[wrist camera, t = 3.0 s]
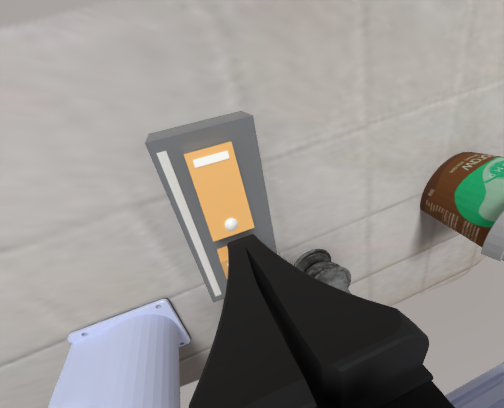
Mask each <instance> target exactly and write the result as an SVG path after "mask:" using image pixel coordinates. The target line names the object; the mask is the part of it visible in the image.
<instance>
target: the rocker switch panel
mask: <svg viewBox="0 0 504 408" xmlns="http://www.w3.org/2000/svg"><path fill="white" fill-rule="evenodd" d="M226 142H232V145H233V149H234V153H235V157H236V160H237V164H238V168H239V171H240V175H241V179H242V182H243V186H244V190H245V193H246V197H247V201H248V205H249V208H250V212H251V216H252V219H253V223H254V227H255V228H252V229H249V230H246V231H243V232H241V233H238V234H235V235H232V236H229V237H226V238H223V239H220V240H217V241H214V242H213V240H212V237H211V234H210V231H209V228H208V225H207V222H206V219H205V216H204V213H203V210H202V207H201V204H200V201H199V198H198V195H197V192H196V189H195V187H194V184H193V181H192V178H191V175H190V172H189V169H188V166H187V163H186V160H185V157H184V154H185V153H189V152H192V151H196V150H200V149H203V148H207V147H211V146H214V145H218V144H222V143H226ZM145 144H146V146H147V149H148V151H149V153H150V156H151V158H152V160H153V163H154V165H155V167H156V170H157V172H158V174H159V177H160V179H161V181H162V184H163V186H164V188H165V191H166V193H167V195H168V198H169V200H170V202H171V205H172V207H173V209H174V212H175V214H176V216H177V219H178V221H179V223H180V226H181V228H182V230H183V233H184V235H185V237H186V240H187V242H188V244H189V247H190V249H191V251H192V254H193V256H194V259H195V261H196V263H197V266H198V268H199V270H200V273H201V275H202V277H203V280H204V282H205V284H206V287H207V289H208V291H209V294H210V296H211V298H212V301H213V302H216V301H218V300H221V299H223V298H225V293H226V286H227V278H226V276H225V273H224V270H223V268H222V265H221V262H220V259H219V255H218V252H217V249H220V248H222V247H225V246H227V244H228V242H231V241H234V240H237V239H239V238H242V237H245V236H248V235H251V234H254V235H255V236H256V237H257V238H258V239H259V240H260V241H261V242H263V243H264V244H265V245H266V246H267V247H268V248H270V249H271V250H272V251H273V252H275V253H276V254H277V252H276V246H275V240H274V235H273V229H272V223H271V217H270V212H269V206H268V200H267V194H266V188H265V183H264V177H263V171H262V165H261V160H260V154H259V148H258V142H257V137H256V131H255V125H254V119H253V115H250V114H247V113H245V112H242V111H239V112H235V113H231V114H227V115H223V116H219V117H215V118H211V119H207V120H203V121H199V122H195V123H191V124H187V125H183V126H179V127H175V128H171V129H167V130H163V131H159V132H155V133H151V134H149V135H148V138H147V140H146V142H145Z"/></svg>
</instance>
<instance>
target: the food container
mask: <svg viewBox="0 0 504 408" xmlns="http://www.w3.org/2000/svg"><path fill="white" fill-rule="evenodd" d="M420 207H421V210H423V211H425V212H426V213H428V214H429V215H431V216H433V217H434V218H436V219H437V220H439V221H441V222H442V223H444V224H445V225H447V226H449V227H450V228H452V229H453V230H455V231H457V232H458V233H460V234H462V235H463V236H465V237H466V238H468V239H470V240H471V241H473V242H474V243H476V244H478V245H479V246H481V247H482V251H481V254H483V255H486V256H488V257H491V258H493V259H496V260H498V261H501V260H503V261H504V157H500V156H493V155H487V154H480V153H473V152H462V153H460V154H457V155H455V156H453V157H451V158H450V159H448V160H447V161H446V162H445V163H443V164H442V165H441V166H440V167H439V168H438V169H437V170H436V172H435V173H434V174H433V176H432V177H431V178H430V180H429V182H428V183H427V185H426V187H425V189H424V192H423V194H422V198H421V204H420Z"/></svg>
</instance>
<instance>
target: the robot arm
mask: <svg viewBox="0 0 504 408" xmlns="http://www.w3.org/2000/svg"><path fill="white" fill-rule="evenodd" d="M227 248H228V278H227V286H226V293H225V299H224V304H223V309H222V313H221V317H220V321H219V325H218V329H217V332H216V336H215V339H214V342H213V345H212V348H211V351H210V354H209V356H208V359H207V362H206V365H205V368H204V370H203V373H202V375H201V378H200V380H199V383H198V385H197V387H196V390H195V392H194V394H193V397H192V399H191V402H190V404H189V408H504V362H503V363H501V364H500V365H498V366H496V367H494V368H493V369H491V370H489V371H487V372H486V373H484V374H482V375H480V376H479V377H477V378H475V379H473V380H471V381H470V382H468V383H466V384H465V385H463V386H461V387H459V388H457V389H456V390H454V391H452V392H451V393H449V394H447V395H445V396H444V395H443V393H442V392H441V391H440V390H439V389H438V388H437V387H436V386H435V384H434V383H433V382H432V381H431V380H433V376H432V374H431V373H430V372H429V371H428V370H427V369H426V368H425V366H424V365H423V361H424V359H425V356H426V353H427V351H428V347H429V340H428V337H427V336H426V334H424V333H423V332H422V331H421V330H420V329H419V328H418V327H417V326H416V325H415V324H414V323H413V322H412V321H411V320H410V319H409V318H407V317H406V316H405V315H403V314H402V313H401V312H400V311H399V310H398V309H396V308H392V307H389V306H386V305H382V304H379V303H376V302H372V301H369V300H366V299H363V298H360V297H357V296H355V295H352V294H349V293H347V292H345V291H342V290H340V289H338V288H335V287H333V286H330V285H328V284H326V283H324V282H322V281H320V280H318V279H316V278H314V277H312V276H310V275H308V274H307V273H305V272H303V271H301V270H300V269H298V268H296V267H295V266H293V265H292V264H290V263H289V262H287V261H286V260H284V259H283V258H281V257H280V256H279V255H277V254H276V253H275V252H273V251H272V250H271V249H270V248H268V247H267V246H266V245H265V244H264V243H263V242H261V241H260V240H259V239H258V238H257V237H256V236H255V235H254V234H251V235H248V236H245V237H242V238H239V239H237V240H234V241H231V242H228V244H227ZM68 341H69V342H70V343H72V346H71V348H70V351H69V353H68V356H67V359H66V361H65V364H64V366H63V369H62V372H61V374H60V377H59V379H58V382H57V385H56V387H55V390H54V392H53V395H52V398H51V400H50V403H49V405H48V408H180V379H179V347H182V346H184V345H186V344H188V343H190V337H189V335H188V333H187V332H186V330H185V328H184V326H183V325H182V323H181V321H180V320H179V318H178V316H177V314H176V313H175V311H174V309H173V308H172V306H171V304H170V302H169V301H168V300H167V299H161V300H158V301H155V302H153V303H150V304H147V305H145V306H142V307H139V308H136V309H134V310H131V311H128V312H126V313H123V314H120V315H118V316H115V317H112V318H110V319H107V320H104V321H102V322H99V323H96V324H94V325H91V326H88V327H86V328H83V329H80V330H77V331H75V332H72V333H70V334H69V336H68Z"/></svg>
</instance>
